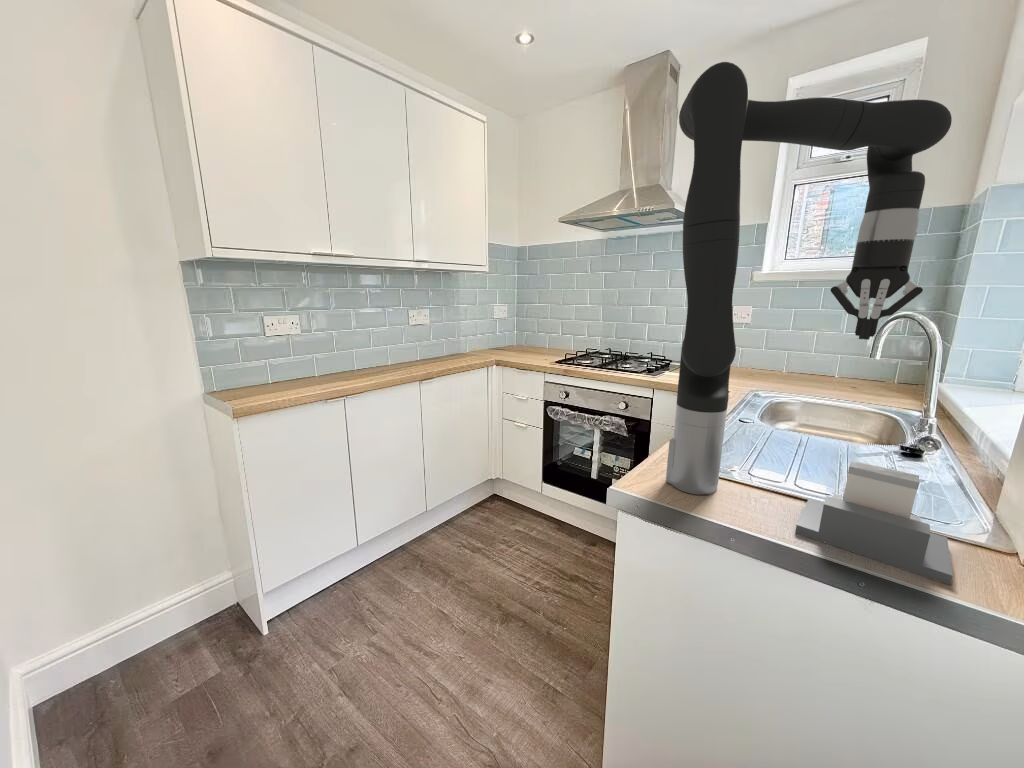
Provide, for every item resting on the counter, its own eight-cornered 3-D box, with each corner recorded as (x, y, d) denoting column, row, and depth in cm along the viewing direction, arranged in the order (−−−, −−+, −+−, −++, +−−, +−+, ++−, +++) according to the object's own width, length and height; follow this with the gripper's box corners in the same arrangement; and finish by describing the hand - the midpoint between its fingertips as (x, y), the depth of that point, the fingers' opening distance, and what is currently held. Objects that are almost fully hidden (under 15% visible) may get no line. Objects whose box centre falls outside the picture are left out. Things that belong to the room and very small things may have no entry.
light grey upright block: (837, 521, 68) (849, 466, 66) (840, 514, 70) (851, 460, 68) (904, 541, 62) (919, 482, 60) (904, 533, 65) (919, 475, 62)
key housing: (795, 532, 68) (801, 497, 67) (807, 505, 77) (813, 473, 75) (950, 585, 56) (962, 543, 55) (944, 545, 65) (955, 508, 63)
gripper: (834, 240, 72) (816, 337, 76) (940, 234, 64) (914, 344, 68) (839, 243, 78) (822, 334, 82) (937, 238, 69) (913, 340, 73)
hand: (864, 338), depth 75 cm, fingers closed
